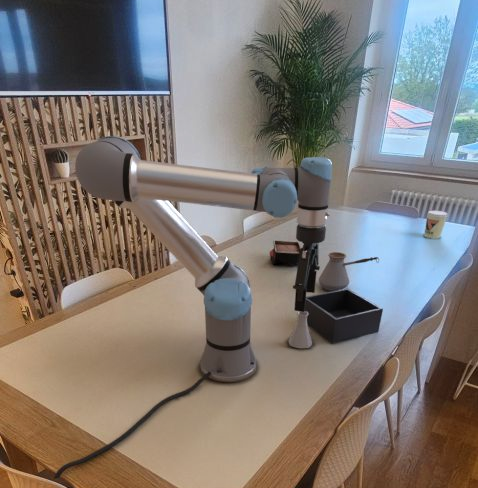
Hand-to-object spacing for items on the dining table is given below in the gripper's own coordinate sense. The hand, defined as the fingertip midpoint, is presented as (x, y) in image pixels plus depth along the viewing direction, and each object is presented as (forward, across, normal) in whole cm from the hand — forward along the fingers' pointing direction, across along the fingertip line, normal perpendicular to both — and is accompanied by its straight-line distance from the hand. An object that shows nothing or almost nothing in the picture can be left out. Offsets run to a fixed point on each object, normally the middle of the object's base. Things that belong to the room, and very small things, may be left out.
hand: (304, 301), depth 123 cm
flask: (+14, 0, 0) cm, 14 cm away
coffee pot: (+14, +45, -7) cm, 48 cm away
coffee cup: (+15, +133, -39) cm, 139 cm away
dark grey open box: (+14, +15, -9) cm, 23 cm away
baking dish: (+14, +68, +22) cm, 73 cm away
